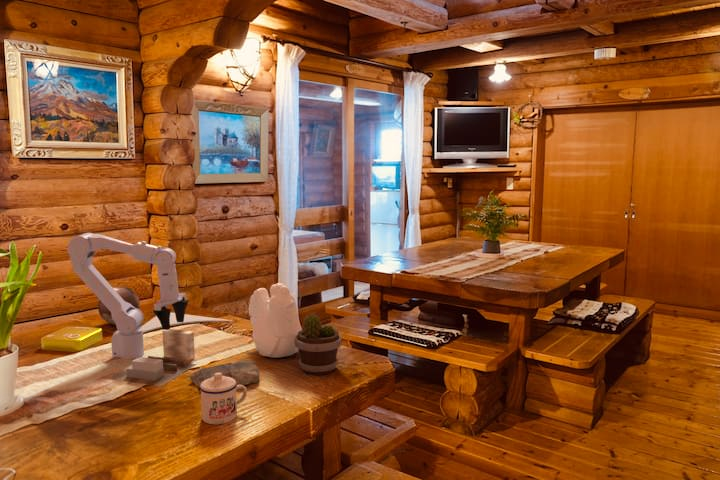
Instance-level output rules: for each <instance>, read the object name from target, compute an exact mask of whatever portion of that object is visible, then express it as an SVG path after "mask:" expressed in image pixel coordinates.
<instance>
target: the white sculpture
mask: <svg viewBox="0 0 720 480" xmlns="http://www.w3.org/2000/svg"><path fill="white" fill-rule="evenodd" d="M269 294H270V296H269ZM248 315H249V316H250V317H249V321H250V323H251V324H250V325H251V326H252V328H253V330H252V338H253V342H254V345H255V348H256V350H257V352H258V354H259V355H261V356H263V357H269V358H284V357H289V356H290V357H291V356H292V355H294V354H295V353H298V352H299V351H298V348H297V347H296V346H295V343H294V340H295V337H296V336H297V335H298V332H299V331H302V330H303V327H302V324H300V320H299V318H298V312H297V303H296V298H295V296H294V294H292V293H291V290H290V289H289V287H287V285H285V284H284V283H281V282H277V283H275V284H271V286H270V288H269V292H268V290H267V288H265V287H260V288H258V289H255V290H254V291H253V294H251V296H250V298H249V305H248Z"/></svg>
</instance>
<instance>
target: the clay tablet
mask: <svg viewBox="0 0 720 480" xmlns="http://www.w3.org/2000/svg"><path fill="white" fill-rule="evenodd" d="M255 364H256V362H255V361H252V360H242V361H241V360H239V361H236V362H233V363H232V362H225V363H221V364H217V365H214V366H209V367H203V368H200V369H198V370H196V371H193V373H192V374H190V375H189V379H190V381H191V382H192V383H194V385H195V386H196V387H198V389H199V390H200V385H201V383H202V382H203V381H205V380H206V379H209V378H211V377H214V374H215V373H222V376H225V377H231V378H233V379H234V380H235V381H236V383H237V385H243V386H245V385H246V386H247V385H250V384H255V383H257V382H259V381H260V380H261V378H260V371H259V367H257V366H256V365H255Z"/></svg>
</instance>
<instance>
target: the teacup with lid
mask: <svg viewBox="0 0 720 480" xmlns="http://www.w3.org/2000/svg"><path fill="white" fill-rule="evenodd" d="M199 388H200V389H199V390H200V399H201V400H200V403H201V405H200V406H201V419H202V421H203V422H204V423H206V424H207V425H208V424H209V425H224V424H228V423H230V422H232V421H234V420H235V419H236V418H237V416H238V412H237V410H238V408H237V407H238V405H240V404H242V403H243V402H244V401H245V400H246V398H247V395H248V389H247V387H246V386H245V385H237V383H236V381H235V380H234V379H233V378H231V377H225V376H222V373H215V374H214V377H211V378H209V379H206V380H205V381H203V382H202V383H201V385H200V387H199ZM239 389H242V390H243V394H242V396H241V398H240V399H238V400H237V390H239Z"/></svg>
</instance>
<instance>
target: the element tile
mask: <svg viewBox="0 0 720 480" xmlns="http://www.w3.org/2000/svg"><path fill="white" fill-rule="evenodd" d="M103 337H104V336H103V329H102V328H101V327H88V326H69V325H67V326H65V327H63V328H61V329H58V330H56V331H53V332H51V333H49V334H47V335H44V336H42V337H41V338H40V342H41V345H40V346H41V350H44V351H53V352H54V351H55V352H73V353H75V352H76V353H77V352H81V351H83V350H85V349H87V348H89V347H91V346H93V345H95V344H97V343H99V342H101V341H102V340H103V339H104V338H103Z"/></svg>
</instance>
